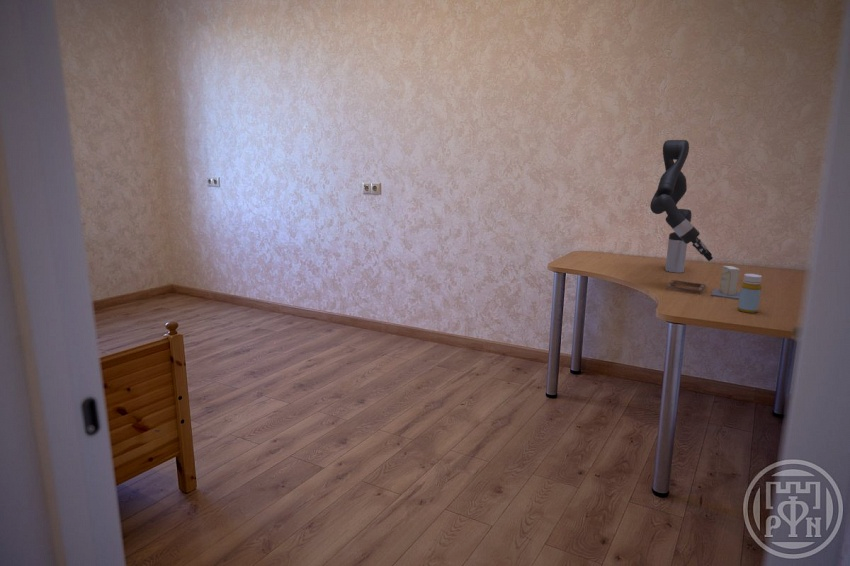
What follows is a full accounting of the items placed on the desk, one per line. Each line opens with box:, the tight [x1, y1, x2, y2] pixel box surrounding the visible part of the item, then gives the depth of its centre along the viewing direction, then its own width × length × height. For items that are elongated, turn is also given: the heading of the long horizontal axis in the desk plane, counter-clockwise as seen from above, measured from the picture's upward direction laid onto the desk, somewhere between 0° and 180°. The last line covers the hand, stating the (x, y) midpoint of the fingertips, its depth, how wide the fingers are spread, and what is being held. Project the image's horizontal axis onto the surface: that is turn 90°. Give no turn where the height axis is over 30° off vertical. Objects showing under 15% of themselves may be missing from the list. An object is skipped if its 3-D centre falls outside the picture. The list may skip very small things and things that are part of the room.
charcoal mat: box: [710, 288, 741, 301], centre depth 254 cm, size 13×12×1 cm
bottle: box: [737, 273, 763, 314], centre depth 227 cm, size 7×7×15 cm
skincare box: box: [718, 265, 741, 295], centre depth 252 cm, size 6×4×12 cm
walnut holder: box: [664, 279, 706, 295], centre depth 264 cm, size 15×15×2 cm
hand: (710, 258), depth 253 cm, fingers open, 8 cm apart
